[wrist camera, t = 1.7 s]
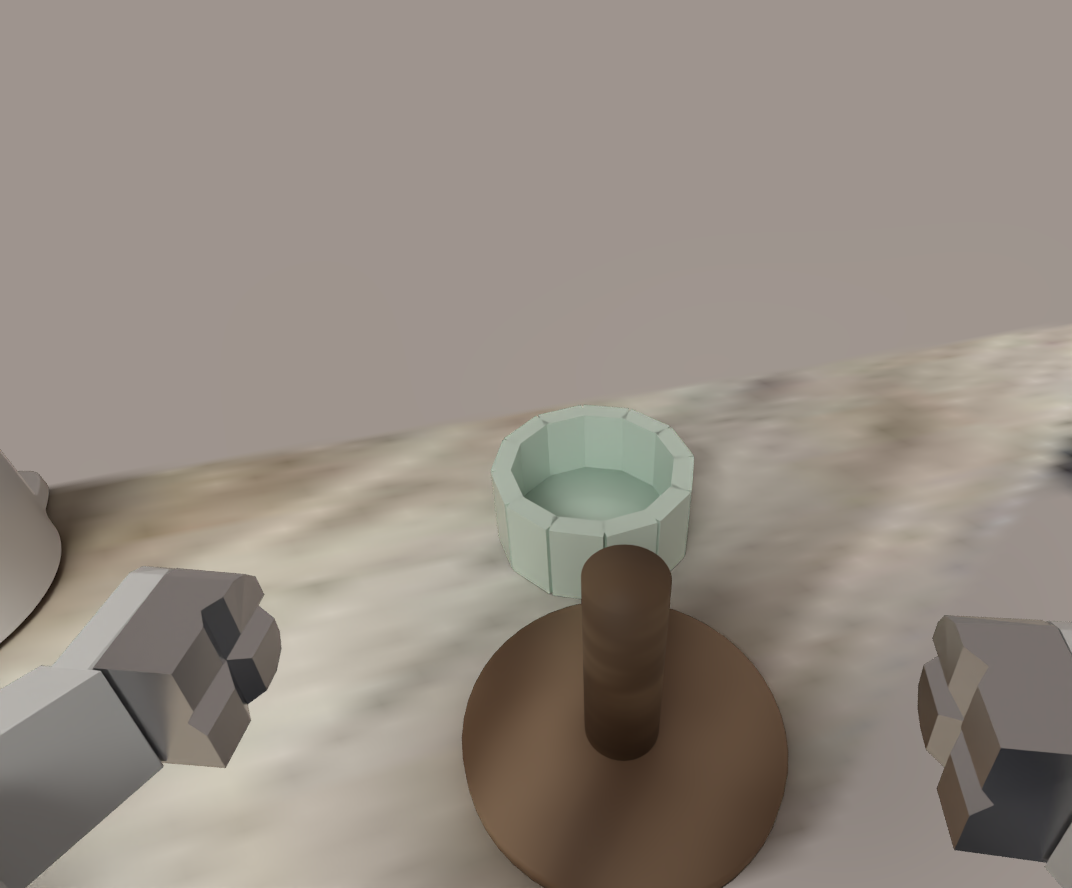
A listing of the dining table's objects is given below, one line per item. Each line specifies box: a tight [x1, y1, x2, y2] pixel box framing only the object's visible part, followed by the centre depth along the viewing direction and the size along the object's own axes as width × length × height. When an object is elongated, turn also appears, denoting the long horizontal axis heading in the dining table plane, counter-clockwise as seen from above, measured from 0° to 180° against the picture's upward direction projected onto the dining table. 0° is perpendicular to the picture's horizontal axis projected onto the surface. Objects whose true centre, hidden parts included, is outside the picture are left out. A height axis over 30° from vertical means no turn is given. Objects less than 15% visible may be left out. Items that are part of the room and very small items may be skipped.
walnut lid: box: [462, 544, 788, 888], centre depth 28 cm, size 13×13×10 cm
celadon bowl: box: [491, 405, 694, 599], centre depth 40 cm, size 10×10×4 cm
